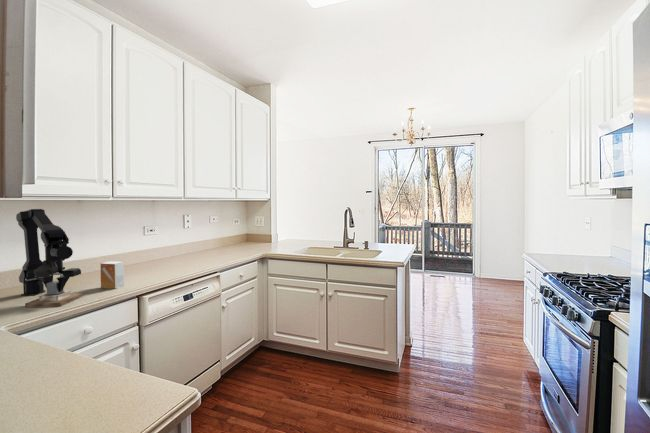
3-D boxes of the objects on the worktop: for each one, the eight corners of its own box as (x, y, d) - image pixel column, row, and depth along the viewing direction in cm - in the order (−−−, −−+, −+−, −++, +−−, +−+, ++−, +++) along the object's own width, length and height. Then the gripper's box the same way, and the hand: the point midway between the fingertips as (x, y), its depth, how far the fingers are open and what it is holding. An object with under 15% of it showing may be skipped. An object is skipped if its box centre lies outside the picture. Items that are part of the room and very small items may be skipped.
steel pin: (47, 296, 137) (46, 283, 137) (54, 294, 141) (53, 280, 140) (56, 296, 137) (56, 283, 137) (63, 293, 141) (63, 280, 141)
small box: (100, 288, 159) (99, 263, 159) (110, 285, 166) (109, 260, 165) (115, 289, 159) (114, 263, 158) (124, 285, 165) (123, 261, 164)
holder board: (25, 307, 132) (24, 298, 131) (50, 296, 145) (50, 289, 145) (61, 306, 133) (60, 298, 133) (83, 296, 147) (82, 288, 147)
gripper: (14, 260, 129) (16, 298, 130) (63, 260, 131) (64, 297, 132) (36, 256, 140) (38, 290, 141) (81, 255, 142) (82, 289, 143)
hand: (55, 291), depth 139 cm, fingers closed on steel pin, 4 cm apart
